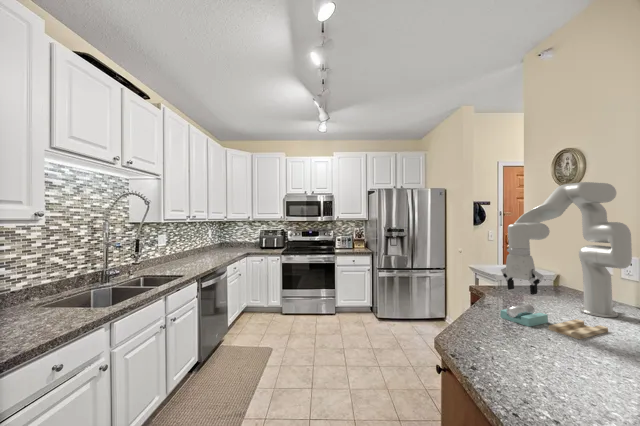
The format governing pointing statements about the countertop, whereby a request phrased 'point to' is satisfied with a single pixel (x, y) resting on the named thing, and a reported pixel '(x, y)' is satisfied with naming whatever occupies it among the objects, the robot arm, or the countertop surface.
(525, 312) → the axle
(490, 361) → the countertop surface
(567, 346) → the countertop surface
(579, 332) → the wooden grooved block
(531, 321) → the cradle
